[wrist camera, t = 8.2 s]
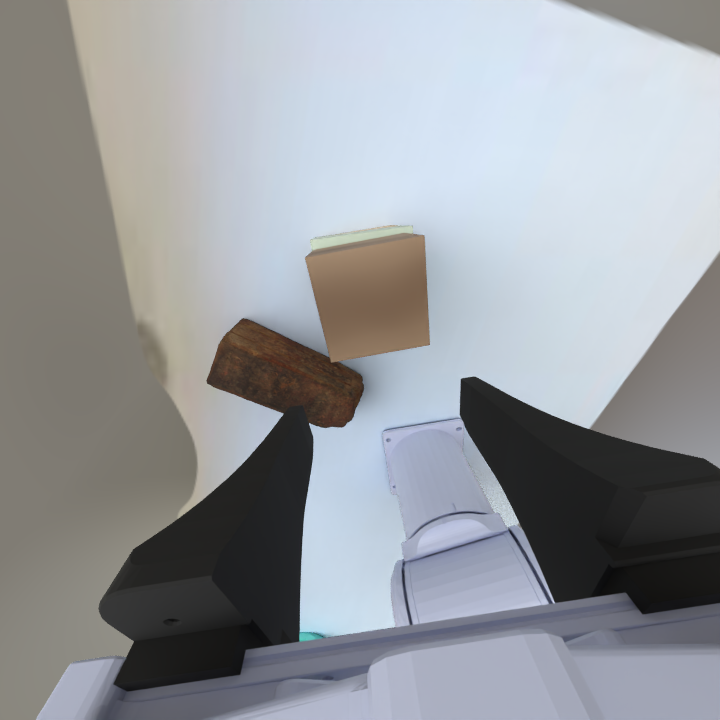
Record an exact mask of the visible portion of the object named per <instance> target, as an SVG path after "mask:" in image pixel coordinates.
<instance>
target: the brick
mask: <svg viewBox="0 0 720 720" xmlns="http://www.w3.org/2000/svg"><path fill="white" fill-rule="evenodd" d="M362 381H363V379H362V376H361V375H360V374H358V373H357V372H355V371H353V370H351V369H349V368H347V367H345V366H344V365H342V364H341V363H339V362H332V363H331V360H330V358H328V357H326V356H324V355H322V354H320V353H318V352H316V351H314V350H312V349H310V348H308V347H305V346H303V345H301V344H299V343H297V342H294V341H292V340H290V339H289V338H286V337H284V336H282V335H280V334H278V333H276V332H274V331H272V330H269V329H267V328H265V327H263V326H261V325H259V324H257V323H255V322H252V321H250V320H248V319H244V318H243V319H241V320H240V321H239V322H238V323H237V324H236V325H235V326H234V327H233V328H232V329H231V330H230V331H229V332H227V333H226V335H225V336H224V337H223V339H222V340H221V342H220V343H219V345H218V349H217V352H216V355H215V359H214V361H213V364H212V367H211V370H210V373H209V376H208V378H207V384H209V385H211V386H213V387H215V388H217V389H220V390H223V391H226V392H229V393H231V394H234V395H237V396H239V397H242V398H244V399H246V400H249V401H252V402H255V403H257V404H260V405H263V406H265V407H268V408H271V409H273V410H276V411H278V412H281V413H285V412H286V411H287V409H288V408H289V407H292V406H298V405H303V407H304V410H305V413H306V417H307V420H308V423H311V424H313V425H315V426H319V427H323V428H327V427H344V426H345V425H346V423H347V422H349V421H351V420H352V418H353V417H354V413H355V409H356V407H357V405H358V403H359V401H360V398H361V396H362V393H363V391H364V385H363V383H362Z"/></svg>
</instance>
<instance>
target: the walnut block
mask: <svg viewBox="0 0 720 720" xmlns="http://www.w3.org/2000/svg"><path fill="white" fill-rule="evenodd" d="M305 260H306V264H307V268H308V272H309V276H310V280H311V284H312V288H313V292H314V296H315V300H316V304H317V308H318V312H319V316H320V320H321V324H322V328H323V332H324V336H325V340H326V344H327V348H328V352H329V356H330V360H331V363H332V362H337V361H343V360H348V359H354V358H360V357H365V356H371V355H376V354H382V353H388V352H393V351H399V350H404V349H410V348H416V347H421V346H427V345H430V339H429V319H428V298H427V278H426V258H425V237H424V235H417V234H410V233H400V234H395V235H390V236H384V237H379V238H374V239H368V240H363V241H358V242H352V243H347V244H342V245H337V246H331V247H326V248H321V249H315V250H313V251H312V252H311V253H310V254H309V255H308V256H307V257H305Z"/></svg>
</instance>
